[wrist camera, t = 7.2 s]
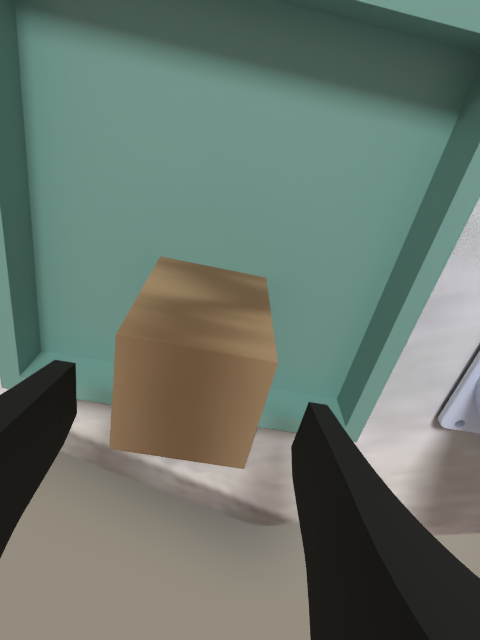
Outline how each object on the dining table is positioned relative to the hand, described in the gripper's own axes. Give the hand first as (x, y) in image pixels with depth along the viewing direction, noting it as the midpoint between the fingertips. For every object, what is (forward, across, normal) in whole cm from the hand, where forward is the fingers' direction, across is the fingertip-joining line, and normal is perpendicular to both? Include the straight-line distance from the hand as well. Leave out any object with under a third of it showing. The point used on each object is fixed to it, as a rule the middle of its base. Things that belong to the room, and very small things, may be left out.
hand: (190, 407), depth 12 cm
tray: (+6, 0, -4) cm, 7 cm away
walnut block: (+6, 0, 0) cm, 6 cm away
